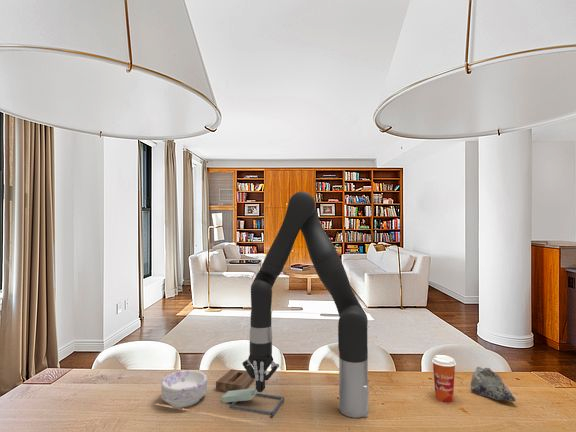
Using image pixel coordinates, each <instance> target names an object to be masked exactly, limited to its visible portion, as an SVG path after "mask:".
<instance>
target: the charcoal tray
mask: <svg viewBox="0 0 576 432" xmlns="http://www.w3.org/2000/svg"><path fill="white" fill-rule="evenodd" d="M254 397H260V398H265V399H274V400H279V401H278V402H277V403H276V405H275V406H274V408H273V409H272V410H271V411H269V410H263V409H259V408H258V409H257V408H252V407H246V406H241V405H240V406H239V405H237V403H238V402H239V401H237V402H231V403H230V405H229V409H234V410H239V411H244V412H248V413H249V412H250V413H255V414H261V415H266V416H270V417H269V418H271V419H274V417H275V416H276V414H277V412H278V411H279V410H280V408H281V407H282V406H283V404H284V402H285V397H284V396H280V395H275V394H274V395H273V394H266V393H262V392H257V394H256V395H255V396H254Z"/></svg>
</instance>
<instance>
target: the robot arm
mask: <svg viewBox="0 0 576 432" xmlns="http://www.w3.org/2000/svg"><path fill="white" fill-rule="evenodd" d="M300 231H301V233H302V236H303V238H304V241H305V244H306V248H307V251H308V255H309V258H310V260H311V263H312V265H313V268H314V270H315V272H316V275H317V276H318V279H319V280H320V281H321V283H322V284H323V286H324V287H325V289H326V291H328V293H329V294H330V296H331V298H332V299H333V302H334V304H335V306H336V307H335V308H336V310H337V314H338V315H339V316H338V317H339V319H338V322H337V339H338V343H337V344H338V376H339V377H338V382H339V383H338V390H339V391H338V395H339V398H338V408H339V412H340V413H341V414H342V415H344V416H346V417H349V418H355V419H356V418H367V417H368V413H369V410H370V409H369V408H370V407H369V406H370V405H369V401H370V400H369V398H370V397H369V396H370V395H369V394H370V392H369V391H370V389H369V387H370V385H369V382H370V380H369V379H368V378H369V376H368V375H369V373H368V372H369V368H368V366H369V365H368V361H369V360H368V359H369V357H368V355H369V353H368V352H369V351H368V316H367V314H366V311H365V310H364V308H363V307H362V305H361V304H360V301H359V300H358V298H357V296H356V294H355V293H354V290H353V288H352V285H351V283H350V281H349V276H348V274H347V272H346V269H345V267H344V265H343V262H342V260H341V257H340V255H339V253H338V251H337V249H336V247H335V245H334V244H333V242H332V240H331V239H330V237H329V236H328V234H327V232H326V231H325V229H324V227H323V225H322V224H321V220H320V217H319V214H318V211H317V209H316V201H315V198H314V197H313V196H312V195H311V193H309V192H307V191H302V190H301V191H297V192H295V193H294V194H292V196H291V197H290V198H289V200H288V204H287V208H286V211H285V215H284V218H283V221H282V222H281V226H280V228H279V230H278V232H277V235H276V236H275V238H274V240H273V242H272V244H271V245H270V248H269V250H268V252H267V253H266V256H265V258H264V260H263V262H262V265H261V267H260V269H259V271H258V272H257V274H256V276H255V278H254V279H253V281H252V283H251V285H250V304H251V305H250V307H251V311H250V325H249V326H250V328H249V355H248V358H247V359H245V360H244V361H243V362H242V363H241V364H242V366H243V368H244V369H245V371H247V372H248V374H249V375H250V377H251V378H254V379H255V388H256V391H257V393H263V392H264V391H265V388H266V381H268V380H269V379H270V378H271V377H272V376H273V375H274V373H275V372H276V371H277V369H278V368H280V364H279V363H276V362H275V361H274V357H273V329H272V302H273V286H274V284H275V283H276V281H277V278H278V277H279V276H280V274H281V273H282V271H283V270H284V268H285V266H286V264H287V261H288V259H289V256H290V254H291V252H292V250H293V246H294V244H295V242H296V239H297V237H298V234H299V232H300ZM269 367H270V371H269V372H268V373H267V371H268V369H269Z"/></svg>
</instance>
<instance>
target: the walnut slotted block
mask: <svg viewBox="0 0 576 432" xmlns="http://www.w3.org/2000/svg"><path fill="white" fill-rule="evenodd" d="M255 382H256V380H255V379H254V378H251V377H250V375H249V374H248V372H247V371H246V370H241V369H234V368H231V369H229V370H228V371H227V372H226V373H224V374H223V375H222V376H221V377H220V378H218V379H217V380H215V391H217V392H223V393H227V392H228V391H233V390H242V389H249V388H250V386H251V385H252V384H253V383H255Z"/></svg>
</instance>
